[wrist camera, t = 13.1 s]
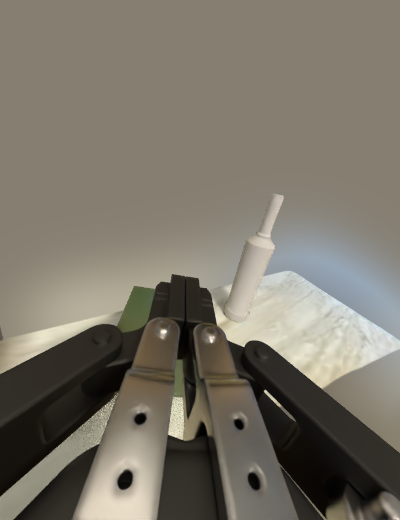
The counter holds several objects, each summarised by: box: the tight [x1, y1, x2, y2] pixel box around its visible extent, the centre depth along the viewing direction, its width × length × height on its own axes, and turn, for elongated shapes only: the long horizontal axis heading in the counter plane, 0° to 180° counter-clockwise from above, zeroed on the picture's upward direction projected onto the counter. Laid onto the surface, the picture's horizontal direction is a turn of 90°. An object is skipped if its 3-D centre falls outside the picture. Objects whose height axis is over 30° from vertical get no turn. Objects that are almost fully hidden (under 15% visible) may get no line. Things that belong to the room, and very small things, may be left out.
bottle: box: [224, 194, 284, 322], centre depth 39 cm, size 5×5×25 cm
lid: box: [117, 286, 155, 332], centre depth 27 cm, size 11×11×1 cm
